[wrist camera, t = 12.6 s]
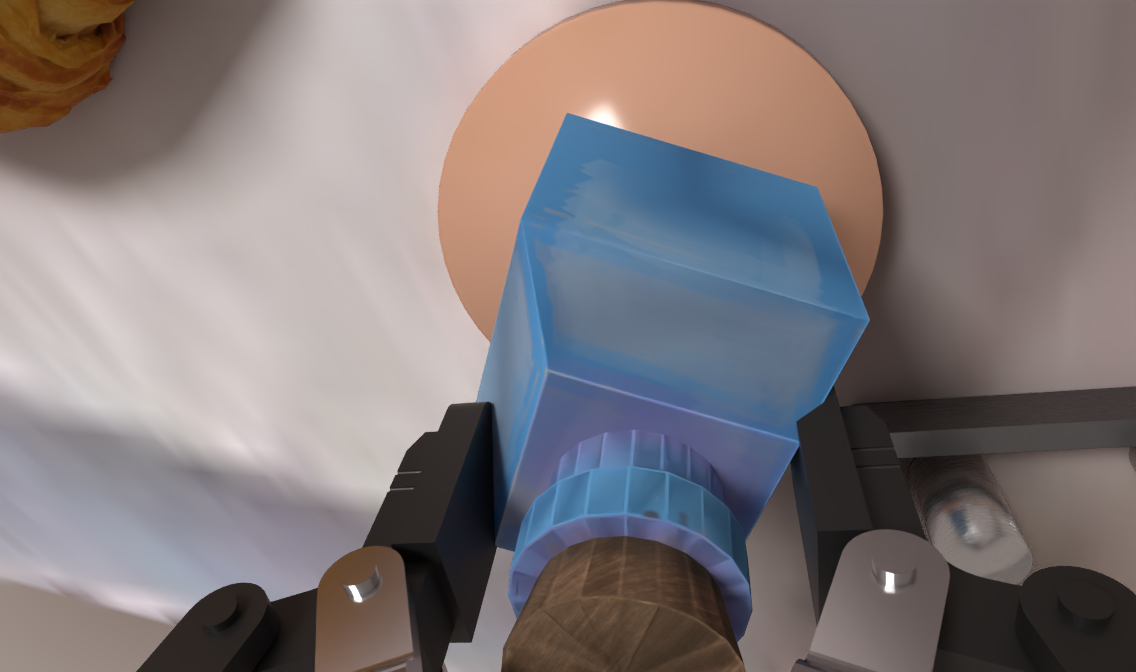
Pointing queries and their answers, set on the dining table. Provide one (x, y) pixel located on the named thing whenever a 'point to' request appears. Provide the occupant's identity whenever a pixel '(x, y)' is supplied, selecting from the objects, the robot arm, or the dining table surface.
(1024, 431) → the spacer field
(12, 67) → the croissant
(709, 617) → the perfume bottle
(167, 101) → the dining table surface
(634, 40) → the peach round disc
